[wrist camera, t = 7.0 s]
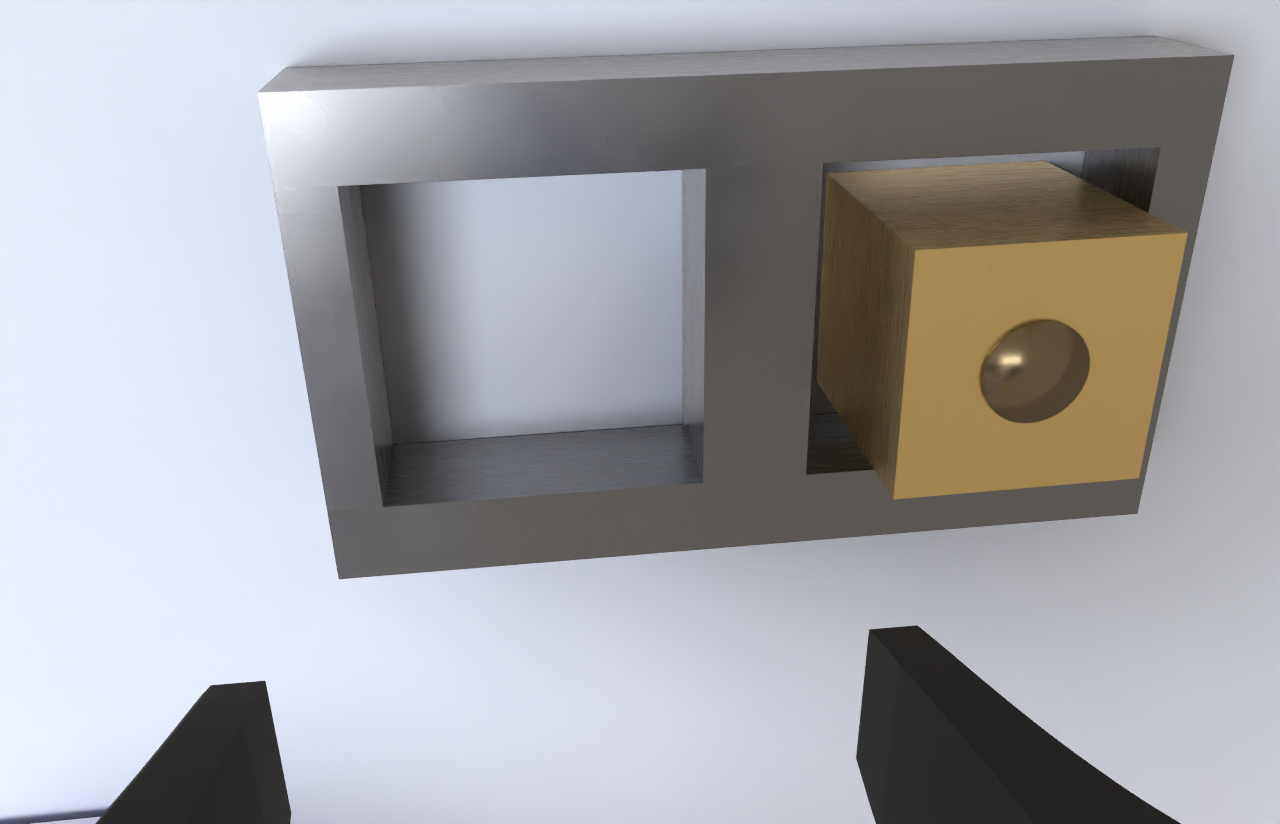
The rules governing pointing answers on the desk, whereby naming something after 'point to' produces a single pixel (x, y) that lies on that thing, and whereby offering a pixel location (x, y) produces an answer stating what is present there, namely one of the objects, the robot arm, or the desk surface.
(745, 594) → the desk surface
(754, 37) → the desk surface
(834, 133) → the grey metal flat frame
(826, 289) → the nut block
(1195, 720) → the desk surface
